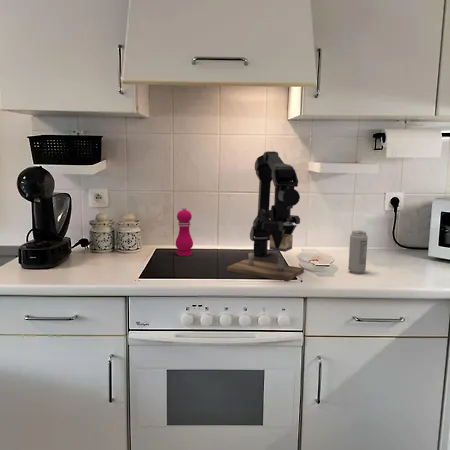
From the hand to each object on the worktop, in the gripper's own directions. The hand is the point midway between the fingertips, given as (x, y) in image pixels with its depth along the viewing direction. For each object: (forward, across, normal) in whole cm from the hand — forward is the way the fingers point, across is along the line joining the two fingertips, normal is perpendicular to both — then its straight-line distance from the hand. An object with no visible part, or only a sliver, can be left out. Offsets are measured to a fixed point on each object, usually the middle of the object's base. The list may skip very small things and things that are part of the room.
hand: (281, 246), depth 173 cm
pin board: (+10, 0, -6) cm, 12 cm away
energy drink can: (+10, -18, +22) cm, 30 cm away
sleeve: (+1, 0, 0) cm, 1 cm away
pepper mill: (+10, -5, -46) cm, 47 cm away
